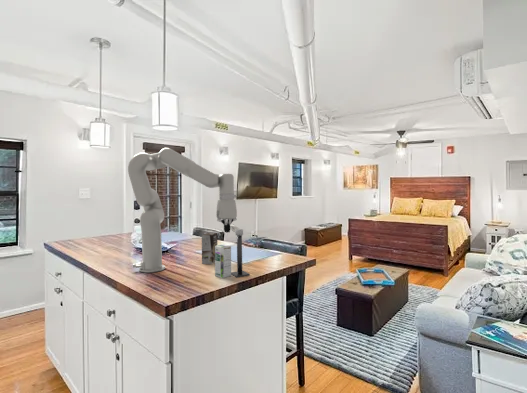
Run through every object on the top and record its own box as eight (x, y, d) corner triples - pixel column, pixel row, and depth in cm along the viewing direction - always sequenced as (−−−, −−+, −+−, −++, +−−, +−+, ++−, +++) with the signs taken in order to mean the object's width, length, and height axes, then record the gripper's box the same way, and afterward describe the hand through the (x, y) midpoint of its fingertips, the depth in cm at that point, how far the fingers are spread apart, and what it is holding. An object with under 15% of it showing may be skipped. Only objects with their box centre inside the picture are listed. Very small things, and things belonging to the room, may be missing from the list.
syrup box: (214, 276, 150) (214, 245, 150) (224, 273, 154) (224, 244, 154) (221, 278, 146) (221, 247, 146) (231, 275, 150) (231, 245, 150)
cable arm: (243, 235, 150) (243, 230, 150) (236, 235, 149) (236, 230, 149) (234, 228, 176) (234, 223, 176) (227, 228, 175) (227, 224, 175)
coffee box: (212, 264, 173) (212, 235, 172) (201, 264, 174) (201, 234, 174) (218, 260, 182) (217, 232, 181) (207, 260, 183) (207, 232, 182)
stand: (236, 277, 147) (235, 237, 146) (230, 274, 153) (229, 235, 152) (249, 275, 150) (249, 235, 150) (243, 272, 156) (242, 233, 156)
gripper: (236, 196, 173) (236, 230, 173) (210, 197, 165) (211, 232, 166) (242, 197, 166) (243, 231, 167) (216, 197, 159) (216, 234, 159)
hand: (227, 232), depth 166 cm, fingers closed
